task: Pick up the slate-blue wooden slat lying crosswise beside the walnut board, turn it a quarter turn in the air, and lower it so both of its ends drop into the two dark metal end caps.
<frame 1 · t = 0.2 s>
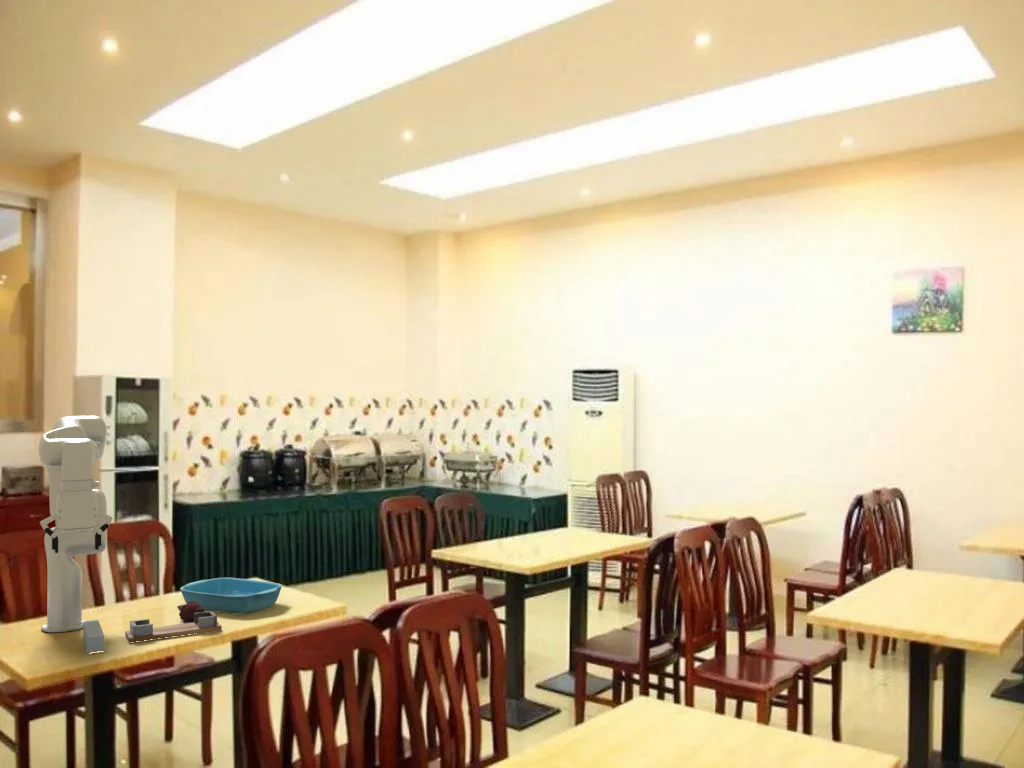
hand: (76, 550, 228), 31 cm above the table, tool pointing down, fingers open, 9 cm apart
slat: (93, 645, 247), on the table
end caps: (174, 623, 259), on the board, point 2 cm above the table
icecream: (191, 623, 272), on the table, touching end caps
board: (173, 633, 259), on the table
casserole dish: (231, 606, 294), on the table
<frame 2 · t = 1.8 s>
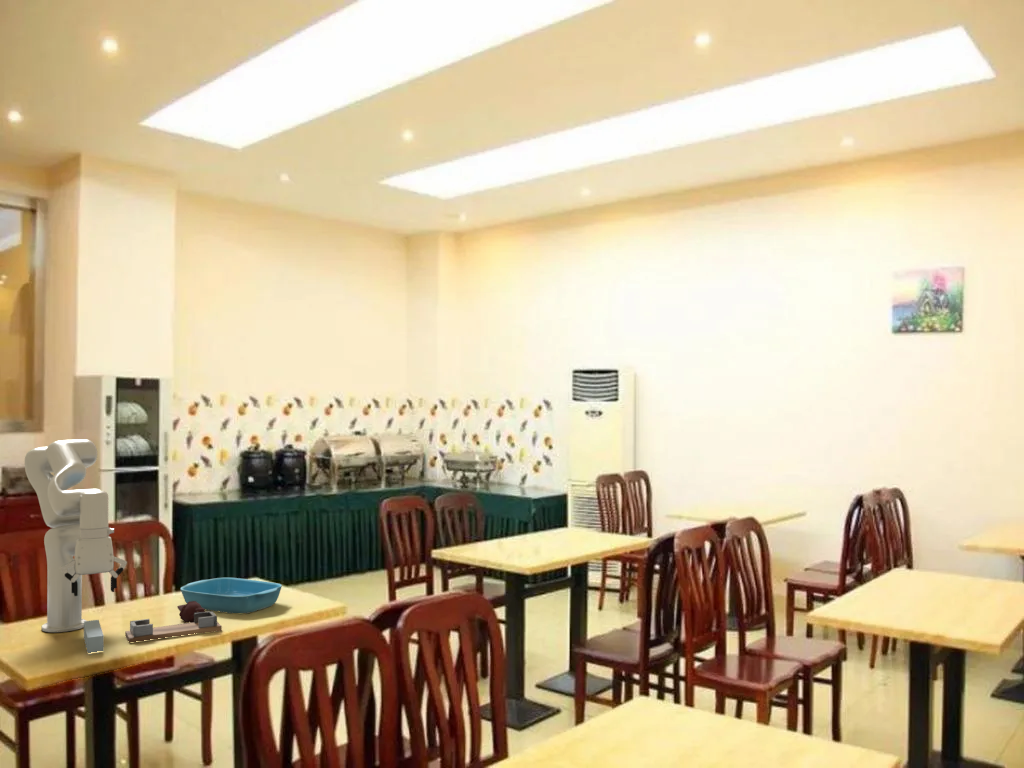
hand: (94, 593, 247), 15 cm above the table, tool pointing down, fingers open, 9 cm apart
icecream: (191, 623, 272), on the table
everything else where it was.
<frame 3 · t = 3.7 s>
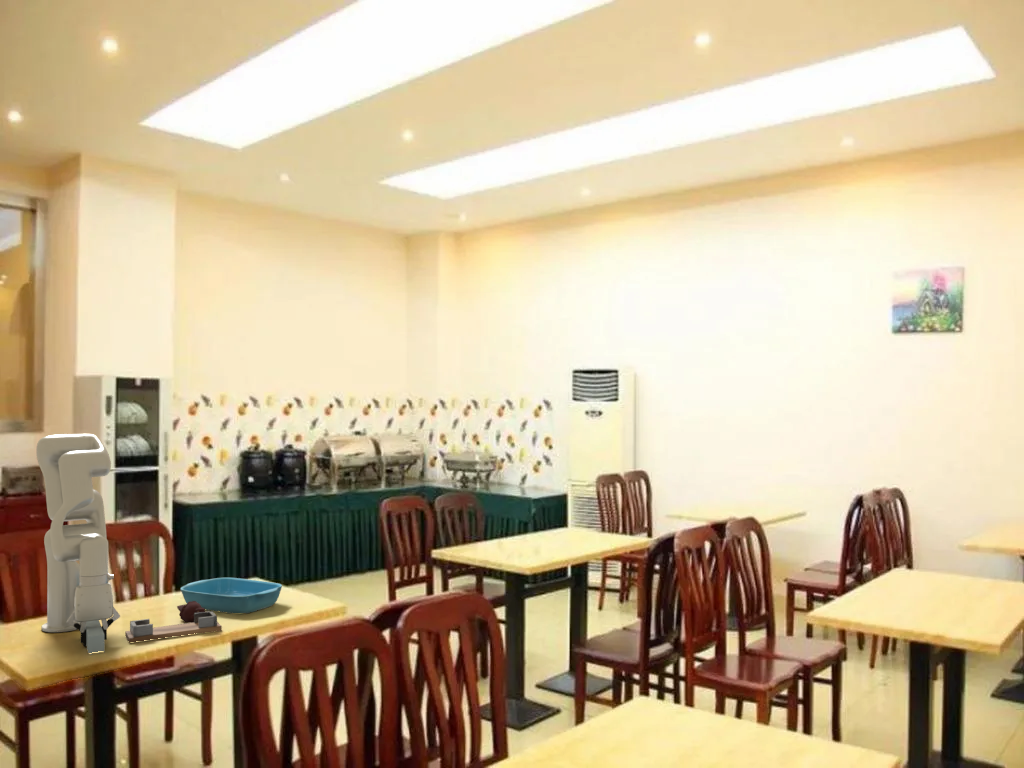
hand: (93, 643, 247), 0 cm above the table, tool pointing down, fingers closed on slat, 4 cm apart
slat: (93, 644, 247), on the table, touching gripper
everything else where it was.
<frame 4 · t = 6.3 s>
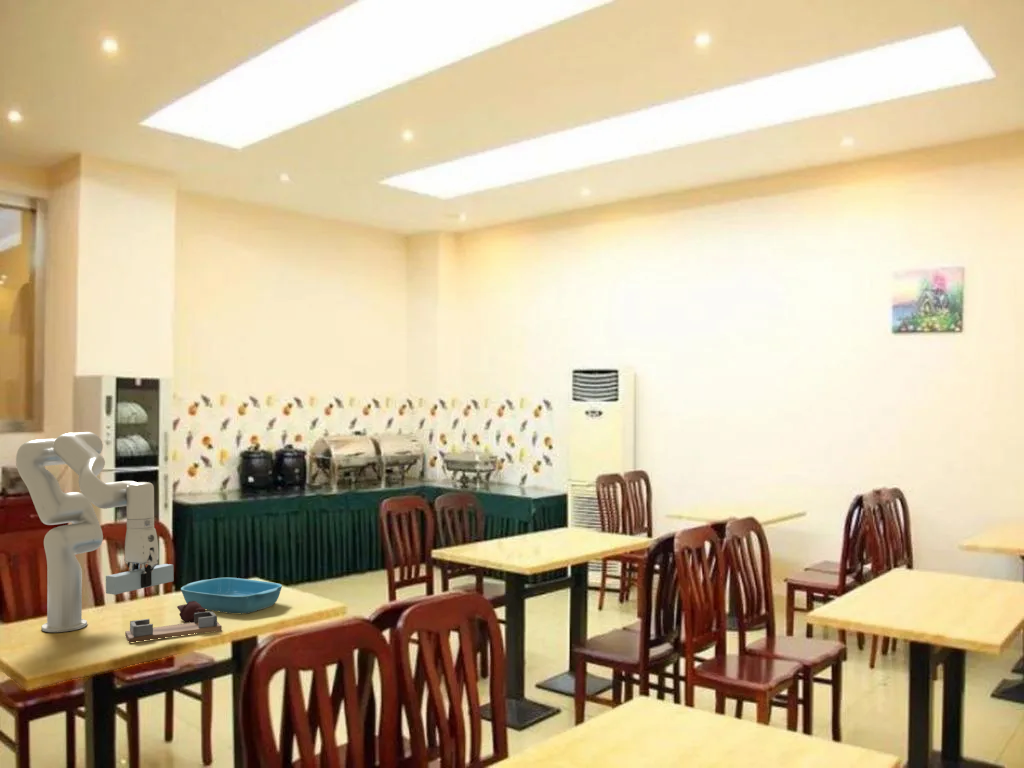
hand: (141, 585, 254), 16 cm above the table, tool pointing down, fingers closed on slat, 4 cm apart
slat: (140, 587, 254), point 15 cm above the table, touching gripper
everything else where it was.
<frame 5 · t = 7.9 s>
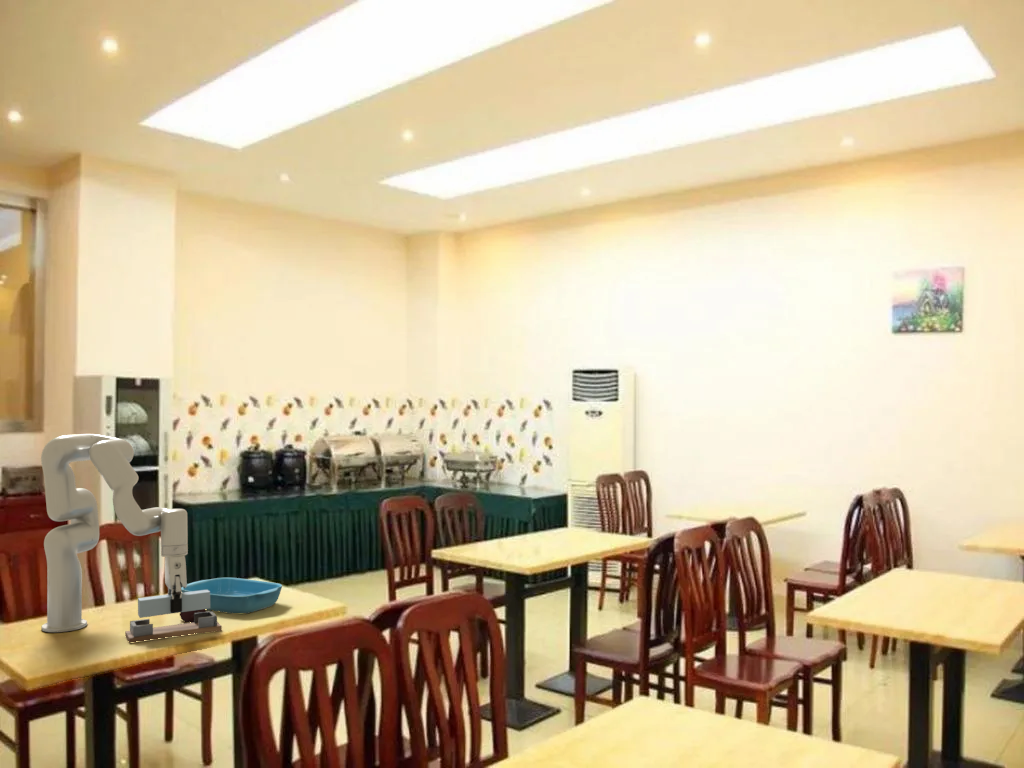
hand: (174, 610, 259), 7 cm above the table, tool pointing down, fingers closed on slat, 4 cm apart
slat: (174, 611, 259), point 7 cm above the table, touching gripper
icecream: (191, 623, 272), on the table, touching end caps
everything else where it was.
when the fingers open (3 cm above the table, at t = 9.0 s): slat drops 1 cm, resting on board.
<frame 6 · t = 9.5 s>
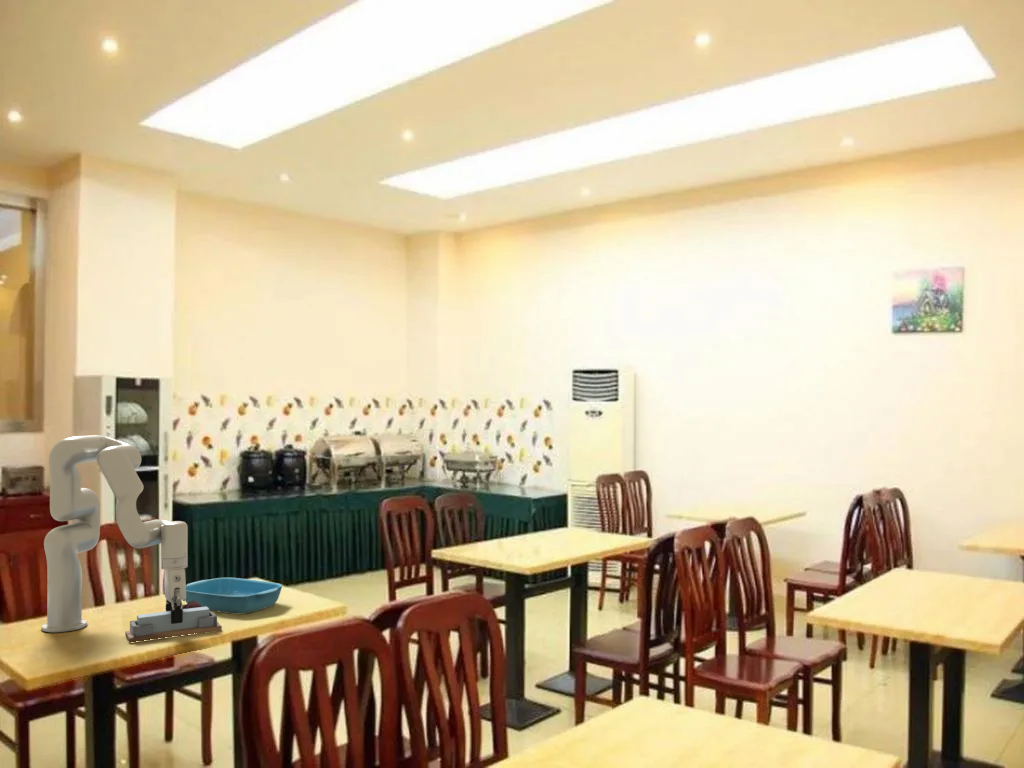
hand: (174, 619, 259), 4 cm above the table, tool pointing down, fingers open, 9 cm apart
slat: (173, 628, 259), point 1 cm above the table, touching board
icecream: (191, 623, 272), on the table
everything else where it was.
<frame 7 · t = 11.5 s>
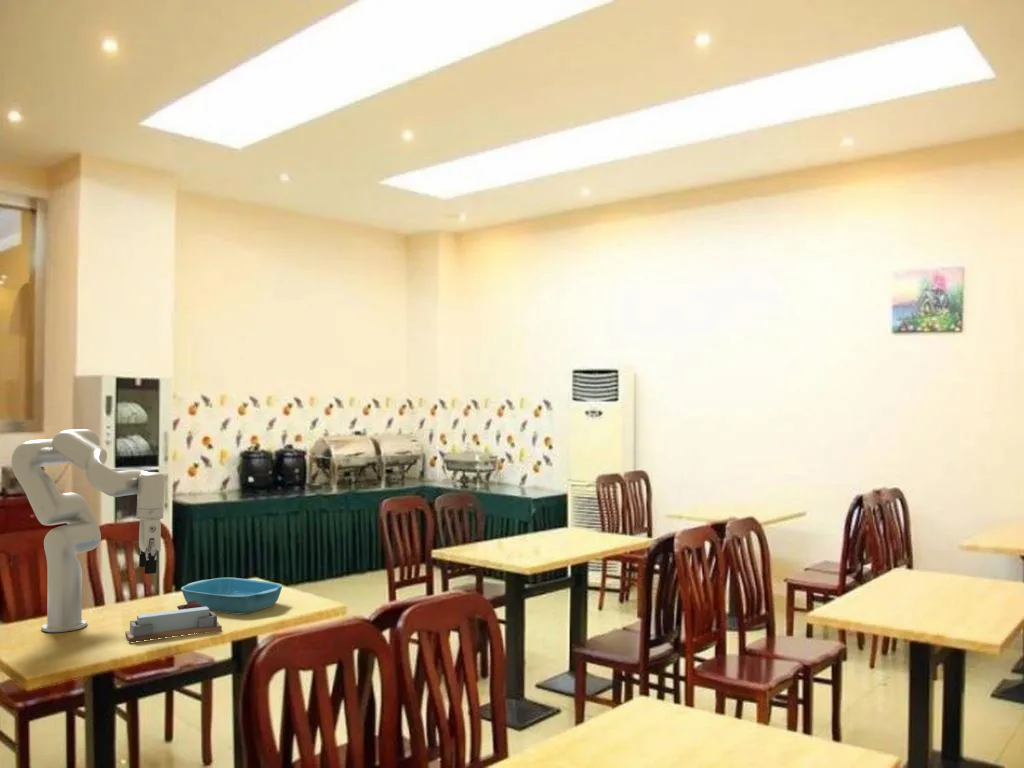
hand: (147, 570, 258), 19 cm above the table, tool pointing down, fingers open, 9 cm apart
nothing on the table moved.
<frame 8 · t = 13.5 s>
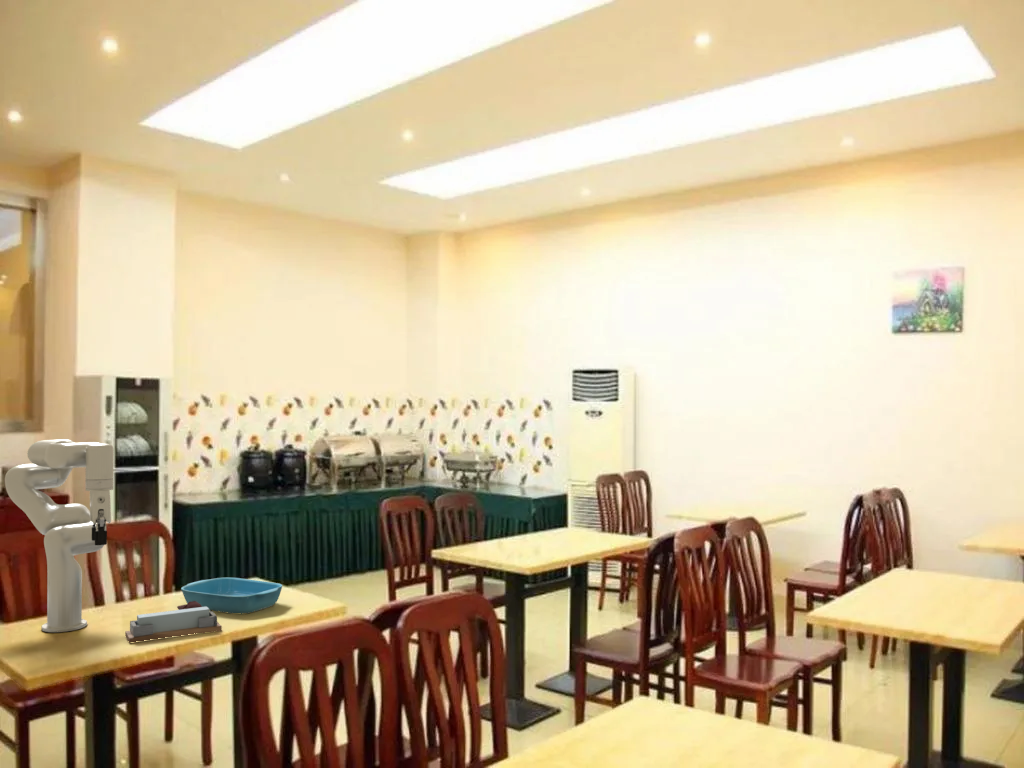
hand: (99, 542, 255), 28 cm above the table, tool pointing down, fingers open, 9 cm apart
nothing on the table moved.
at the end: slat 0.1 cm off-centre on the board, point 1.5 cm above the board's base; slat tilted 0°; the gripper is holding nothing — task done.
